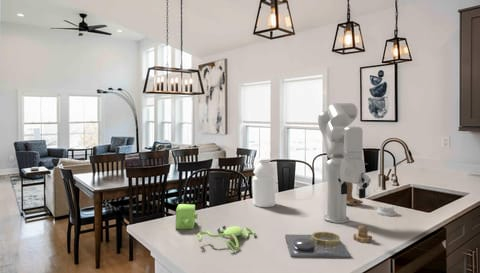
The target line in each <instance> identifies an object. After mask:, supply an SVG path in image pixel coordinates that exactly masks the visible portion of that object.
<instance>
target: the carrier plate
mask: <svg viewBox="0 0 480 273" xmlns="http://www.w3.org/2000/svg"><path fill="white" fill-rule="evenodd" d="M284 239H285V242H286V246H287V248H288V249H287V250H288V253H289V256H290V258H291V257H293V258H351V253H350V252H349V249H347V248H346V246H345V244H344V243H343V242H342V241H341V238H340V236H339V234H336V233H334V232H330V231H317V232H313V233H311V234H286V233H285V235H284Z"/></svg>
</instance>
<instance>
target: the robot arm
mask: <svg viewBox="0 0 480 273" xmlns="http://www.w3.org/2000/svg"><path fill="white" fill-rule="evenodd" d="M358 111H359V110H358V107H357V106H356V105H355V104H354V103H352V102H335V103H332V104H330V105H329V106H328V108H327V110H324V111H321V112H320V113H318V117H317V123H318V124H317V125H318V127H319V130H320V132H321V134H322V136H323V139H324V147H325V152H326V156H327V158H329V159H328V160H326V163H325V173H326V180H327V181H326V189H327V190H326V193H327V194H326V196H327V197H326V214H325V215H324V216H323V220H325V221H326V222H328V223H334V224H346V223H348V222H350V217H349V216H347V204H346V195H347V185H346V183H347V182H348V183H352V184H356V185H358V186H359V189H358V198H359V200H360V199H366V195H367V194H366V192H367V188H368V187H369V185H370V183H371V181H372V179H371V178H370V177H369V176H368V175H367V174H366V168H365V167H366V166H365V161H364V159H363V148H364V147H363V145H364V144H363V135H364V134H363V133H364V131H363V127H360V126H350V125H351V124H352V123H353V122H354V121H355V120H356V119H357V117H358V114H359V112H358Z"/></svg>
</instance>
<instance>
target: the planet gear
mask: <svg viewBox="0 0 480 273" xmlns="http://www.w3.org/2000/svg"><path fill="white" fill-rule="evenodd" d="M357 231H358V232H357V233H354V234H353V238H352V239H353V240H354V241H356V242H357V243H360V242H361V243H363V244H367V243H372V242H373V236H372V235H369V234H368V226H366V225H358V230H357Z"/></svg>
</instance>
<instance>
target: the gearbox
mask: <svg viewBox="0 0 480 273" xmlns="http://www.w3.org/2000/svg"><path fill="white" fill-rule="evenodd" d="M198 216H199V215H198V213H196V204H191V203H190V204H189V203H187V204H186V203H180V204H178V205H177V207H176V210H175V229H178V230H187V229H188V230H189V229H192V230H193V229H194V226H195V222H196V220H198ZM195 219H196V220H195Z"/></svg>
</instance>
